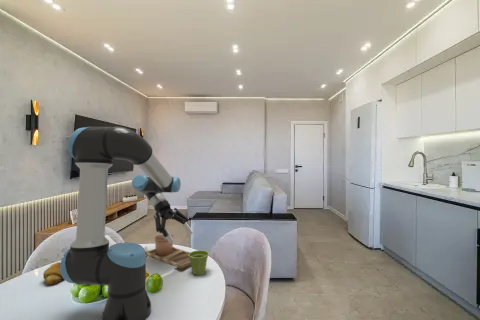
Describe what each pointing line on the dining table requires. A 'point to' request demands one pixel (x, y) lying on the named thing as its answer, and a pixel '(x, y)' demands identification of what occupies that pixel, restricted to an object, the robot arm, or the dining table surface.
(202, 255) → the plant pot
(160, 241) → the pot
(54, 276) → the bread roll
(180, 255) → the pallet
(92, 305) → the dining table surface
